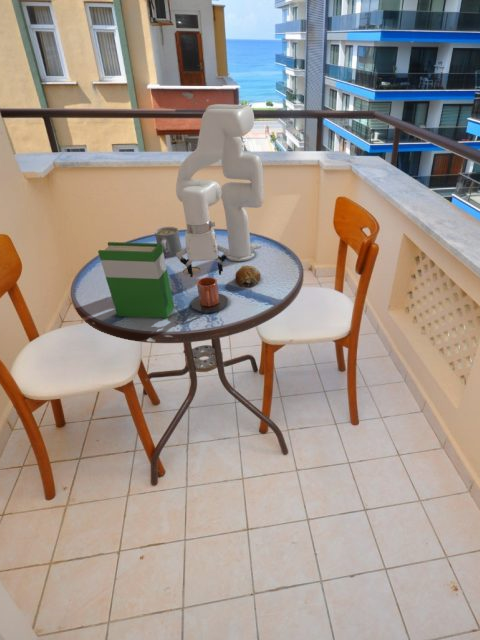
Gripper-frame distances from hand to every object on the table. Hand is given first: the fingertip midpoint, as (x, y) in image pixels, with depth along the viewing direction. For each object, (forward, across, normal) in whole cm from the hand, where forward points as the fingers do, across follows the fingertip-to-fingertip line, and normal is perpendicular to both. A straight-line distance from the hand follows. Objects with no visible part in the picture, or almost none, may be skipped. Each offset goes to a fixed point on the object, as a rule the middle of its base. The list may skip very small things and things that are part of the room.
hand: (206, 274), depth 143 cm
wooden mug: (+11, 0, +2) cm, 11 cm away
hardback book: (+12, +22, +2) cm, 25 cm away
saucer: (+12, 0, 0) cm, 12 cm away
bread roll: (+12, -15, -15) cm, 24 cm away
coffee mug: (+12, +18, -47) cm, 52 cm away
